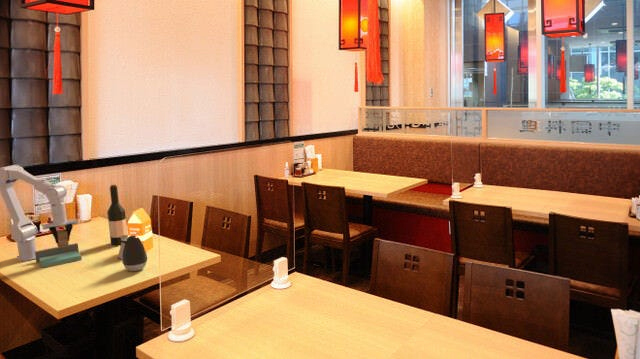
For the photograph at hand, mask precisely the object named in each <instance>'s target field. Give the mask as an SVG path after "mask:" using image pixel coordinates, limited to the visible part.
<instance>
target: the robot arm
mask: <svg viewBox="0 0 640 359" xmlns="http://www.w3.org/2000/svg"><path fill="white" fill-rule="evenodd" d="M18 180H20V181H23V182H25V183H27V184H29V185H31V186H33V189H34V190H36V191H37V192H39V193H41V194H42V195H45V196H46V198H47V200H48V201H49V203H48V204H50V210H51V218H52V222H49V223H45V224H41V228H42V230H43V231H46V230H49V231H50V233H51V234H52V236H53V238H54V241H55V244H57V243H58V238H57V231H58V230H57V228H60V227H64V230H66V231H67V235H68V242H70V236H71V232H72V230H73V227H74V226H73V225H78V224H79V220H78V219H77V218H74V219H67V210H66V203H65V202H66V201H65V197H66V195H67V190H66V188H65V187H64V186H63V185H61V184H60V185H56V184H55V183H52V182H50V181H48V180H47V179H46V178H37V177H35V176H34V175H33V174H31V173H29V172H28V171H26V170H25V169H24V167H22V166H20V165H19V164H13V165H8V166H7V165H6V166H3V167H0V195H1V197H2V199H3V202H4V204H5V207H6V209H7V211H8V214H9V216H10V217H11V220H12V224H11V226H10V231H11V237H12V239H13V241H14V242H16V244H17V245H16V246H17V250H18V255H17V256H16V258H17V259H18V261H19V262H20V263H21V262H28V261H31V260H32V261H33V260H36V257H35V251H37V246H36V235H38V228H37V226H36V225H35V224H34V223H33V220H32V219H29V218H27V217H26V215H25V211H24V209H23V208H22V206H21V202H20V201H19V198H18V195H17V193H16V191H15V189H14V185H15V184H16V182H18Z"/></svg>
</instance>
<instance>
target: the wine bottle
mask: <svg viewBox="0 0 640 359" xmlns="http://www.w3.org/2000/svg"><path fill="white" fill-rule="evenodd" d="M109 190H110V191H109V192H110V200H111V203H110V205H109V208H108V210H107V211H106V212H107V214H106V215H107V220H108V221H107V222H108V230H109V237H110V238H109V239H110V244H111V245H112V246H114V247H115V246H121V238H120V237H121V236H123V235H127V236H128V229H127V218H126V210H125V209H124V208H123V206H122V205H121V204H120V202H119V201H120V200H119V192H118V186H117V185H116V184H110V186H109ZM127 238H128V237H127Z"/></svg>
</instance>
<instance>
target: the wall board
mask: <svg viewBox="0 0 640 359" xmlns="http://www.w3.org/2000/svg"><path fill="white" fill-rule="evenodd" d="M35 257H36V259H35V263H39V264H40V266H41V267H42V269H45V268H50V267H54V266H58V265H64V264H68V263H72V262H76V261H77V260H78V261H82V260H83V258H82V255H81V253H80V251H79V243H71V244H69V246H67V247H62V248H59V247H58V246H56V247H55V246H54V247H51V248H45V249H42V250H41V249H40V250H36V251H35ZM63 263H64V264H63Z"/></svg>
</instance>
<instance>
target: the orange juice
mask: <svg viewBox="0 0 640 359" xmlns="http://www.w3.org/2000/svg"><path fill="white" fill-rule="evenodd" d="M126 225H127V235H128V237H129V236H131V235H135V236H137V237H139V239H140V240H141V242H142V243H143V245H144V248H145V250H146V253H147V252H149V251H150V250H152V249H153V248H154V241H153V228H152V219H151V217H150V215H148V214H147V212H146V211H145V209H144V208H143V207H141V208H138V209H137V210H134V211H132V214H131V216H130V218H129V219H128V222H126Z"/></svg>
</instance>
